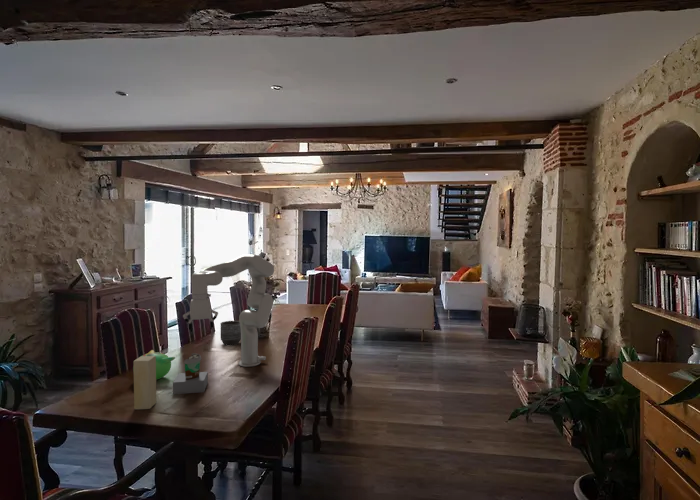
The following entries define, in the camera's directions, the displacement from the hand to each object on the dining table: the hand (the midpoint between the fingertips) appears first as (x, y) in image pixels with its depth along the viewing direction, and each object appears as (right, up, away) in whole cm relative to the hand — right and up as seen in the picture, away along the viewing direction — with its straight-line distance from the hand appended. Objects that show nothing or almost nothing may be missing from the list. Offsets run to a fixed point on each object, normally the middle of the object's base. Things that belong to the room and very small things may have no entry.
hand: (201, 329), depth 221 cm
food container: (+1, -21, -10) cm, 24 cm away
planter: (-6, -25, +78) cm, 82 cm away
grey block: (-1, -27, -11) cm, 29 cm away
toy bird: (-25, -26, +1) cm, 37 cm away
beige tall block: (-13, -27, -34) cm, 45 cm away
